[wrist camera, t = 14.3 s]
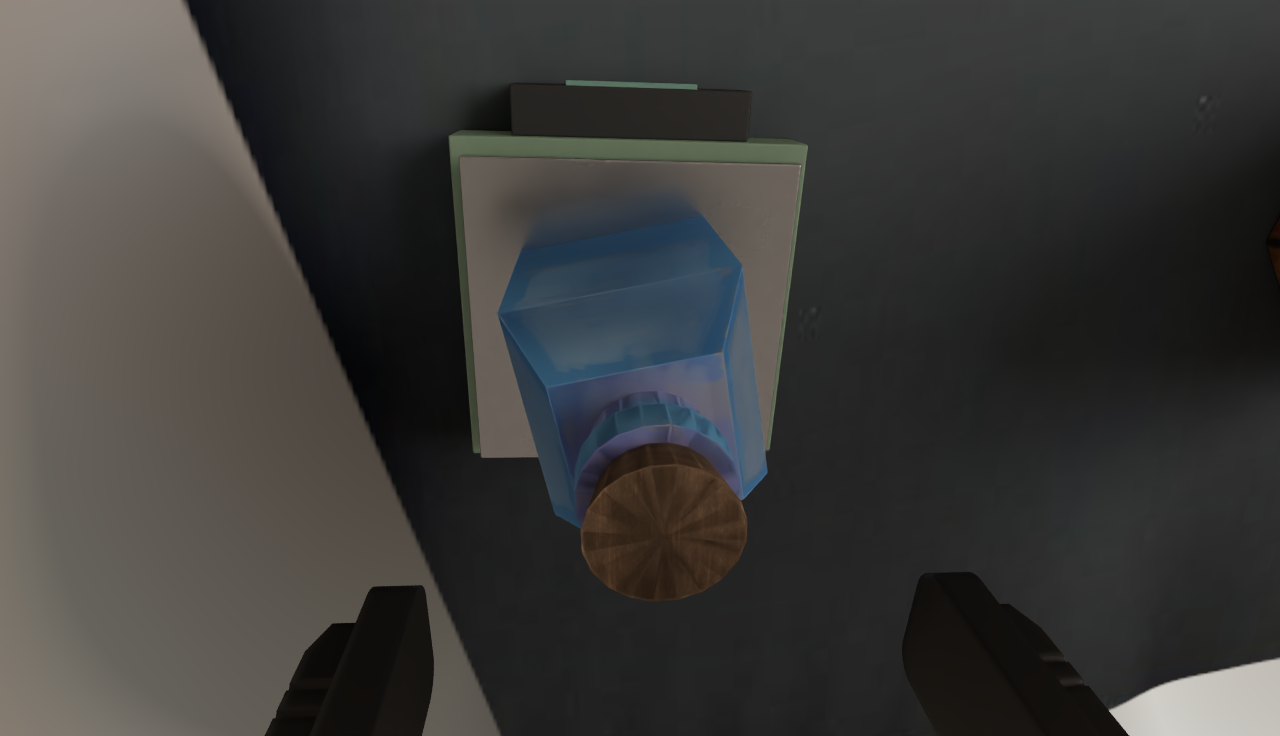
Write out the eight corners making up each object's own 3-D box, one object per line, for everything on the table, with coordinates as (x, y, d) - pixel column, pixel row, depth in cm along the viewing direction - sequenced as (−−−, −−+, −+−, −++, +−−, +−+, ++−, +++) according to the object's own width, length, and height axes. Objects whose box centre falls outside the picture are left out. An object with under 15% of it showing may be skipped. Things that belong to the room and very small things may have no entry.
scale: (480, 426, 29) (473, 453, 27) (455, 75, 23) (443, 76, 21) (757, 425, 30) (769, 451, 28) (796, 87, 24) (815, 88, 22)
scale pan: (484, 442, 27) (480, 458, 25) (464, 151, 22) (458, 155, 21) (759, 440, 27) (766, 455, 26) (792, 159, 23) (802, 164, 22)
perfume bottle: (520, 251, 22) (455, 426, 11) (703, 215, 22) (814, 356, 11) (562, 413, 25) (542, 682, 14) (726, 381, 25) (836, 625, 14)
